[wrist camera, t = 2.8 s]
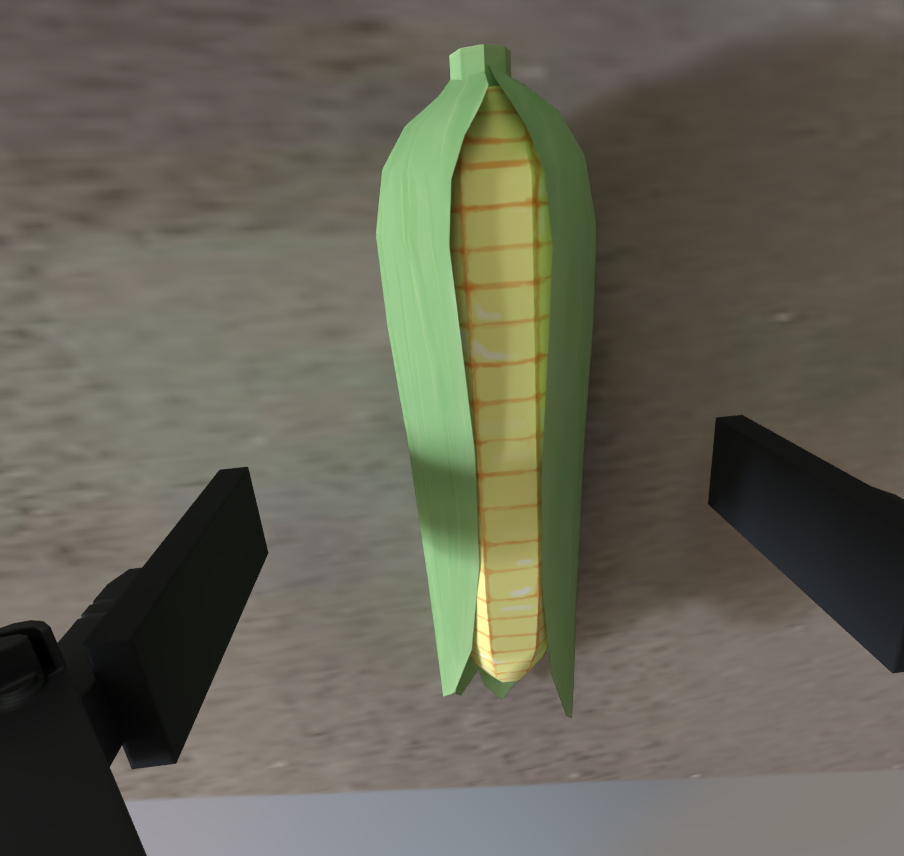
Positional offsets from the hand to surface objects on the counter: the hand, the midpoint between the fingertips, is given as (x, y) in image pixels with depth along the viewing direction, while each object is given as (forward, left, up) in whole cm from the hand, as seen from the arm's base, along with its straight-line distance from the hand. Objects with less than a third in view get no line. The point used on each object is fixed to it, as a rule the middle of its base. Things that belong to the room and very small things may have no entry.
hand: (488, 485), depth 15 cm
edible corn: (0, 0, -2) cm, 2 cm away
